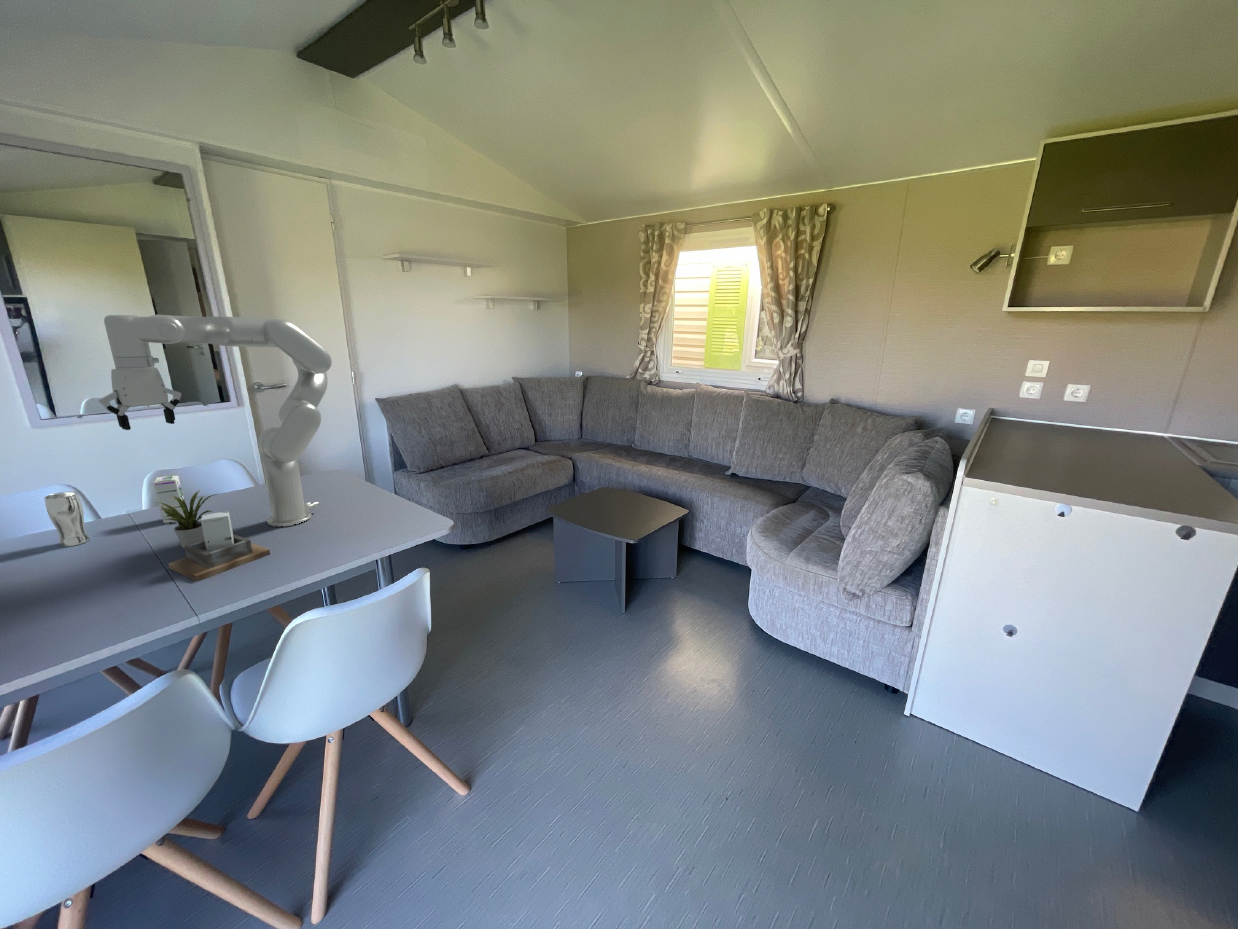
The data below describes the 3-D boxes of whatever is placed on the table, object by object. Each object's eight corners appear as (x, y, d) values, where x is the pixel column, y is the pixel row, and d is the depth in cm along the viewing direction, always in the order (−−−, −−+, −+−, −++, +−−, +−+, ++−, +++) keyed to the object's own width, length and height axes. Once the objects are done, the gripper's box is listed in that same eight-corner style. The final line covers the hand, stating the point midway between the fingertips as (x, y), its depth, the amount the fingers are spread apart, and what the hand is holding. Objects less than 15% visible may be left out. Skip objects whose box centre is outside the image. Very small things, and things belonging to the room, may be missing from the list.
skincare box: (208, 561, 137) (198, 520, 133) (209, 554, 140) (200, 514, 137) (236, 556, 140) (227, 515, 137) (237, 549, 144) (229, 510, 140)
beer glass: (96, 540, 150) (83, 493, 146) (64, 549, 144) (49, 500, 140) (85, 535, 153) (71, 489, 149) (53, 544, 147) (38, 496, 142)
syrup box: (186, 520, 166) (176, 479, 162) (162, 524, 163) (152, 481, 159) (188, 514, 170) (179, 474, 166) (165, 518, 167) (155, 477, 163)
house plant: (224, 530, 160) (214, 481, 155) (232, 544, 150) (221, 493, 146) (165, 542, 150) (153, 491, 145) (169, 558, 141) (156, 504, 136)
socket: (242, 543, 151) (238, 526, 149) (270, 554, 145) (267, 536, 143) (169, 568, 135) (165, 550, 134) (197, 581, 129) (193, 562, 128)
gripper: (166, 360, 142) (179, 419, 147) (83, 364, 127) (100, 430, 132) (180, 362, 139) (193, 422, 144) (97, 366, 124) (114, 433, 129)
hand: (149, 426), depth 138 cm, fingers open, 9 cm apart
